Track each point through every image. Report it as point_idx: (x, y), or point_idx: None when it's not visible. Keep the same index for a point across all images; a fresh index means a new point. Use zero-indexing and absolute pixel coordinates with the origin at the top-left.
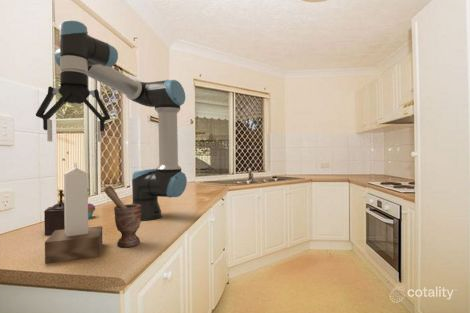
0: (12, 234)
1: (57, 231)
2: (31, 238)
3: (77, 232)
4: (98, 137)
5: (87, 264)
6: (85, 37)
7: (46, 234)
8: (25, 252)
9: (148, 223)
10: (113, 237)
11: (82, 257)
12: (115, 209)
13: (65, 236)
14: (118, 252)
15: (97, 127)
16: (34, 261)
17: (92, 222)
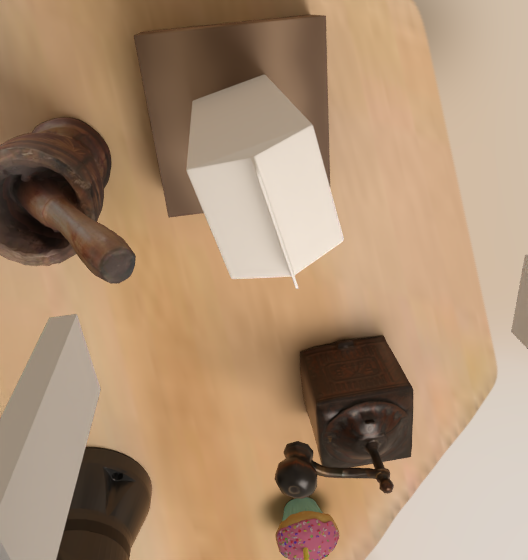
0: (477, 366)
1: None
2: (414, 311)
3: (228, 88)
4: (56, 342)
5: None
6: None
7: (379, 337)
8: (397, 161)
9: None
10: (150, 261)
11: (197, 26)
12: (81, 174)
13: None
14: (84, 65)
15: (29, 433)
16: (348, 50)
17: (267, 455)
